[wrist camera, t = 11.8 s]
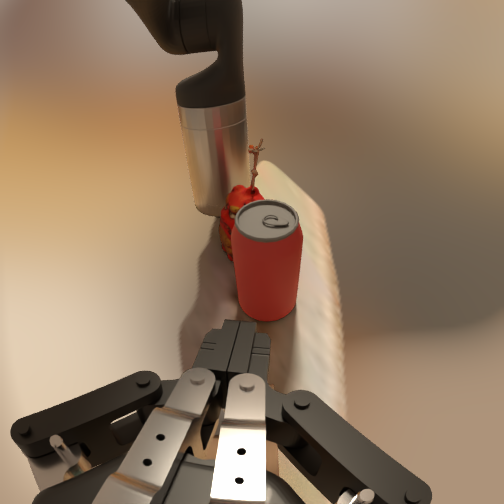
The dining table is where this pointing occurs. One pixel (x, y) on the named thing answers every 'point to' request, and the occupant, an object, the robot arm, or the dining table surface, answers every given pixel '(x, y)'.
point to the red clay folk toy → (238, 204)
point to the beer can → (267, 258)
